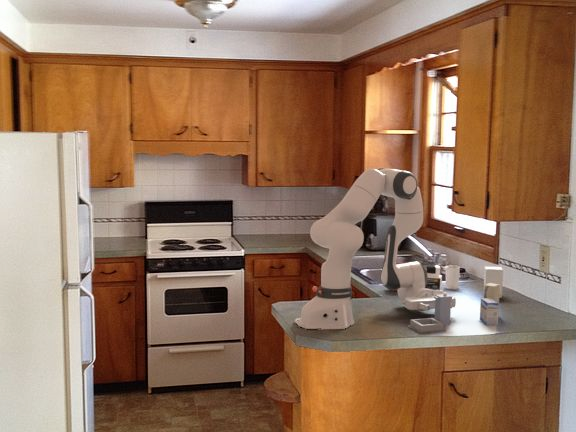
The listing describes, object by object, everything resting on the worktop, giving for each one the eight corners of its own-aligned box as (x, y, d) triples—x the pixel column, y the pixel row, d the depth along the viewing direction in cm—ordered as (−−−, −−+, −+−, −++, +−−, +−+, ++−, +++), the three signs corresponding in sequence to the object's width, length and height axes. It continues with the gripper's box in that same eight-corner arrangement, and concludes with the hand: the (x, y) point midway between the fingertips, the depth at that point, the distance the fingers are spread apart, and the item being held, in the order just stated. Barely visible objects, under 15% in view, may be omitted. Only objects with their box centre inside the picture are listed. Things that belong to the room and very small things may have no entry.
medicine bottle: (423, 292, 322) (424, 266, 321) (426, 289, 329) (426, 263, 328) (439, 293, 320) (440, 267, 319) (441, 290, 327) (442, 264, 326)
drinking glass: (460, 287, 333) (461, 266, 332) (457, 289, 327) (458, 268, 326) (446, 285, 336) (446, 265, 335) (443, 288, 330) (443, 267, 329)
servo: (437, 326, 265) (438, 294, 263) (431, 323, 269) (432, 292, 267) (452, 325, 266) (453, 293, 265) (447, 322, 270) (448, 291, 269)
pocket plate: (419, 333, 255) (419, 326, 255) (406, 325, 265) (406, 319, 265) (447, 331, 258) (447, 324, 258) (433, 323, 268) (433, 317, 268)
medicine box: (479, 320, 273) (480, 298, 272) (490, 320, 274) (491, 298, 273) (486, 325, 266) (487, 303, 265) (498, 325, 266) (499, 302, 265)
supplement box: (502, 298, 311) (503, 269, 310) (484, 297, 312) (485, 269, 311) (500, 294, 318) (501, 266, 317) (483, 293, 320) (484, 266, 318)
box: (488, 314, 282) (489, 282, 281) (499, 316, 280) (500, 284, 278) (482, 316, 278) (483, 284, 277) (493, 318, 276) (494, 286, 274)
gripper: (398, 292, 279) (414, 300, 266) (445, 289, 285) (463, 297, 272) (398, 308, 280) (414, 317, 267) (444, 305, 286) (462, 313, 272)
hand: (439, 307), depth 269 cm, fingers open, 8 cm apart
